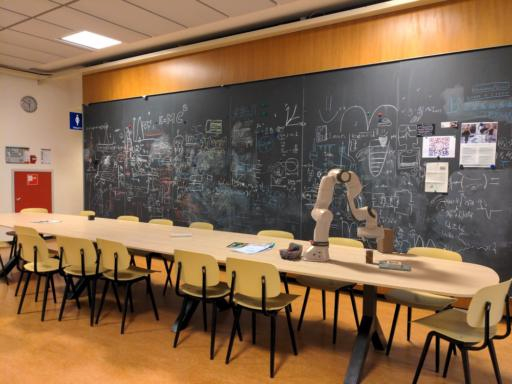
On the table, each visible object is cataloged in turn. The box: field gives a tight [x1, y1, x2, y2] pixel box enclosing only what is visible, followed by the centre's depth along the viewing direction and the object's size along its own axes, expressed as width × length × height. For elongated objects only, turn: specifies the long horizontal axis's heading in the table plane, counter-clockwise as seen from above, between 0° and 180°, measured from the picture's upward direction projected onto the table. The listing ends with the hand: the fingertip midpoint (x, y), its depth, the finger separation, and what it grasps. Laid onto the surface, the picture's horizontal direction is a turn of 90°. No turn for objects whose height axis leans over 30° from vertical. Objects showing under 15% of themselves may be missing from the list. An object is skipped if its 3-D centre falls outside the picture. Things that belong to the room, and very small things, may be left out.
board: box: [378, 260, 411, 272], centre depth 268 cm, size 20×16×3 cm
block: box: [376, 227, 395, 254], centre depth 321 cm, size 10×10×20 cm
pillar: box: [365, 249, 374, 265], centre depth 280 cm, size 5×5×9 cm
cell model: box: [279, 241, 304, 260], centre depth 293 cm, size 13×11×20 cm
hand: (370, 241), depth 291 cm, fingers open, 8 cm apart
